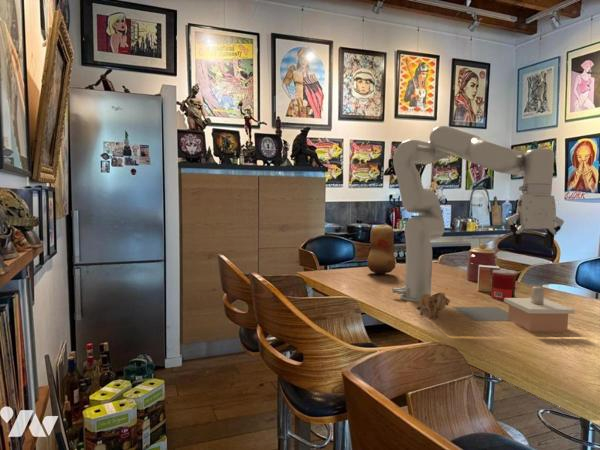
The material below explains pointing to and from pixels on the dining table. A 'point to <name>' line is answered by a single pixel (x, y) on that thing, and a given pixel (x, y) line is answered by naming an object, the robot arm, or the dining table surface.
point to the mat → (484, 313)
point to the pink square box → (538, 320)
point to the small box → (485, 277)
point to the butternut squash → (381, 250)
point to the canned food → (503, 284)
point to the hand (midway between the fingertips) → (532, 247)
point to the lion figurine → (433, 303)
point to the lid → (538, 303)
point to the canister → (479, 261)
